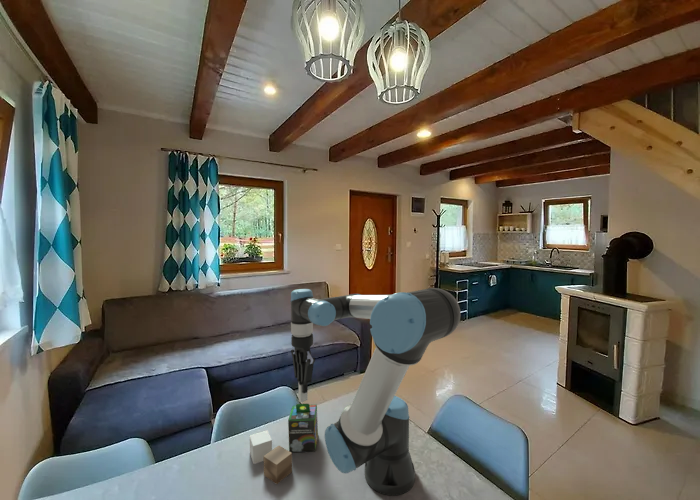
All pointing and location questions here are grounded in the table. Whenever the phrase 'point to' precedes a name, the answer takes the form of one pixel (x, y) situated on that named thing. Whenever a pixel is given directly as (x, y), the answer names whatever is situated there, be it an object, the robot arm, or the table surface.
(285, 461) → the walnut block
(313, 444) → the chalk box
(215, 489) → the table surface
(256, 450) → the white cube
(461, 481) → the table surface
